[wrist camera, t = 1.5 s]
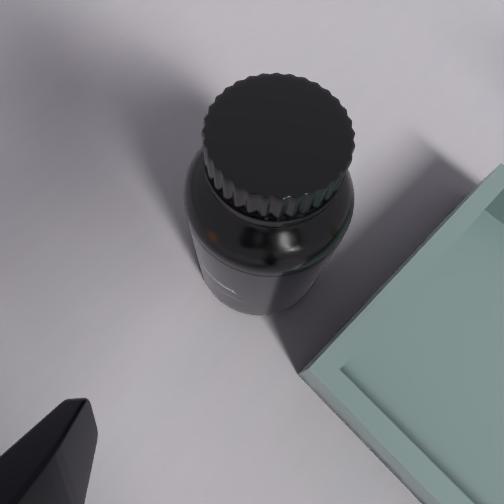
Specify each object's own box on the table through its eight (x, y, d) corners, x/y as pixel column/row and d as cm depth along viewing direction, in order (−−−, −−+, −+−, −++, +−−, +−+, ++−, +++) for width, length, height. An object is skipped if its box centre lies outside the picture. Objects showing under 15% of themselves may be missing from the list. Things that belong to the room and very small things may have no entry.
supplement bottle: (186, 302, 22) (130, 198, 11) (218, 200, 24) (199, 28, 13) (305, 331, 22) (374, 253, 10) (325, 224, 24) (398, 68, 13)
